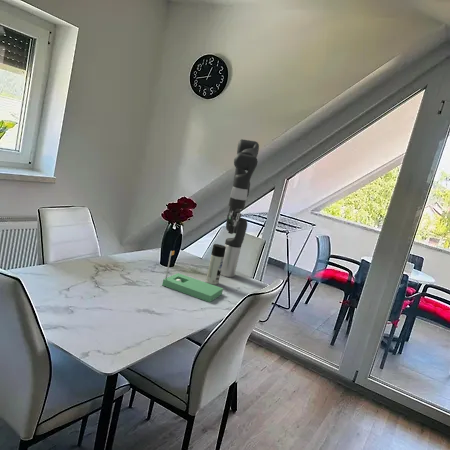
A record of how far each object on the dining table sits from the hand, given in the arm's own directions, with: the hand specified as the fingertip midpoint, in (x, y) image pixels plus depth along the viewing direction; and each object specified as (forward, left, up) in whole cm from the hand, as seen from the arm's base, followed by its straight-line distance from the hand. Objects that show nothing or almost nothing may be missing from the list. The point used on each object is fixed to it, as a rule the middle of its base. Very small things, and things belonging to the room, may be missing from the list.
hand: (230, 233), depth 200 cm
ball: (+6, -19, -29) cm, 35 cm away
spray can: (-13, -9, -31) cm, 35 cm away
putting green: (+6, -11, -31) cm, 33 cm away
